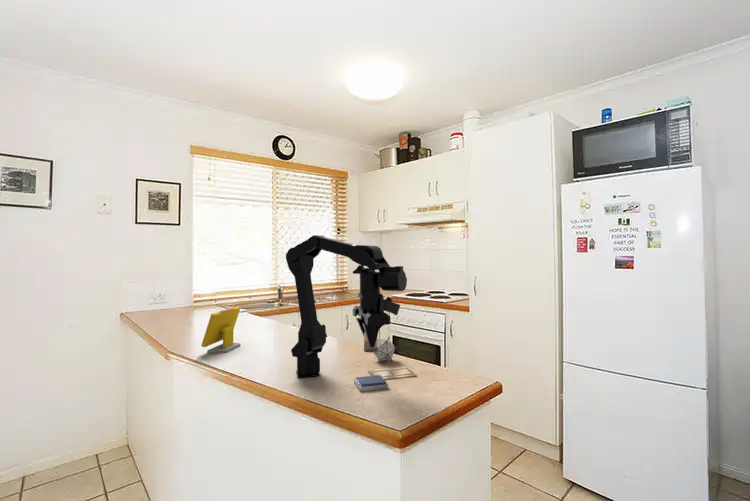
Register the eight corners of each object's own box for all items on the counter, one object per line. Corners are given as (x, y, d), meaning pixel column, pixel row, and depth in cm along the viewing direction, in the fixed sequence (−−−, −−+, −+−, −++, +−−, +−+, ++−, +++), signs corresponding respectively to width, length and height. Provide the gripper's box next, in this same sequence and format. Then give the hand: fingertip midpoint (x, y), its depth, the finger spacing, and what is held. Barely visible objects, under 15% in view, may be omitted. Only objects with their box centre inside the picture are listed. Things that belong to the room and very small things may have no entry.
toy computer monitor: (228, 342, 164) (228, 305, 164) (246, 343, 163) (245, 305, 163) (201, 355, 144) (200, 312, 144) (220, 355, 143) (220, 313, 143)
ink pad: (359, 391, 104) (359, 385, 104) (354, 383, 111) (354, 377, 111) (388, 388, 106) (388, 382, 106) (380, 380, 113) (380, 374, 113)
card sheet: (375, 380, 113) (375, 379, 113) (367, 371, 122) (367, 370, 122) (416, 376, 117) (416, 375, 117) (406, 367, 125) (406, 366, 125)
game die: (388, 373, 132) (394, 354, 127) (365, 363, 134) (370, 343, 128) (396, 354, 139) (402, 336, 134) (374, 345, 141) (379, 326, 135)
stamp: (365, 353, 106) (365, 326, 106) (362, 349, 110) (362, 324, 110) (379, 351, 108) (379, 326, 108) (375, 348, 111) (375, 323, 111)
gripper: (408, 291, 102) (409, 351, 102) (386, 286, 120) (387, 336, 120) (368, 293, 99) (368, 354, 99) (352, 287, 117) (352, 339, 117)
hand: (370, 345), depth 109 cm, fingers closed on stamp, 4 cm apart
